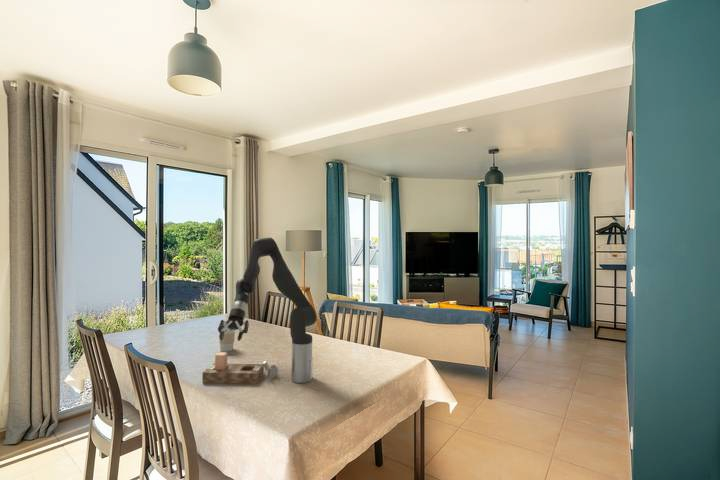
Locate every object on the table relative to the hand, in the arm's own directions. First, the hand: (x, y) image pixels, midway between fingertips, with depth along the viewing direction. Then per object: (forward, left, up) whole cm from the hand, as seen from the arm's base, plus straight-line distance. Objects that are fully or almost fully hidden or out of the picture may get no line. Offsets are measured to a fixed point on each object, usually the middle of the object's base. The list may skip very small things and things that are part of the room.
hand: (229, 339), depth 179 cm
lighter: (-22, +8, -15) cm, 28 cm away
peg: (0, +10, -14) cm, 17 cm away
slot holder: (-6, +10, -15) cm, 19 cm away
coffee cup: (+13, -32, -15) cm, 37 cm away
